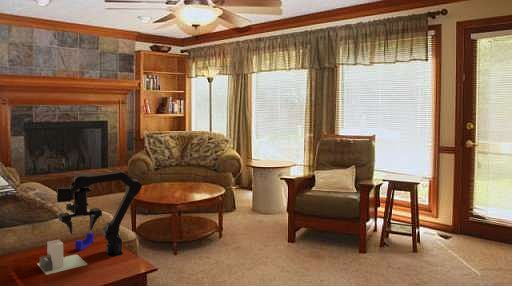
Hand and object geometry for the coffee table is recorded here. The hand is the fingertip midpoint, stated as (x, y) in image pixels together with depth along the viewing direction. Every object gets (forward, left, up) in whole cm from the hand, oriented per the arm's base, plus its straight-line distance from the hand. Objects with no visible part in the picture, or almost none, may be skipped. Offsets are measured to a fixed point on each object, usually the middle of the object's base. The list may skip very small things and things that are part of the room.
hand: (80, 232), depth 206 cm
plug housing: (+13, +4, -12) cm, 18 cm away
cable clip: (-5, -12, -14) cm, 19 cm away
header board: (+10, +4, -13) cm, 17 cm away
